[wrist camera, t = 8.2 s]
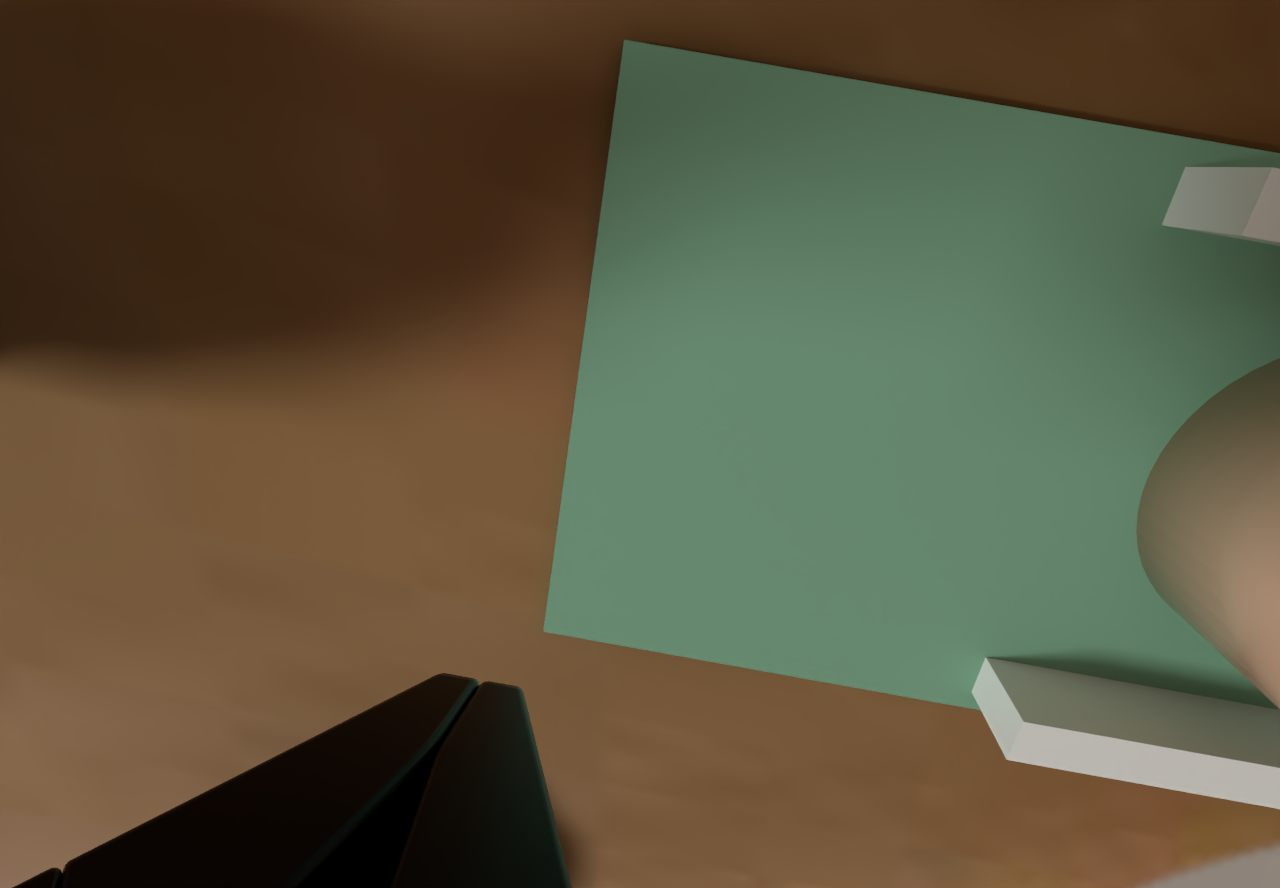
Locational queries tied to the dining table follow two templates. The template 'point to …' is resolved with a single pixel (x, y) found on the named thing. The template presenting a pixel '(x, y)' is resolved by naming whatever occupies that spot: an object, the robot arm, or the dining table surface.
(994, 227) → the green mat
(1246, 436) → the terracotta pot
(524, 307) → the dining table surface
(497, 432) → the dining table surface
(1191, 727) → the white rail holder
